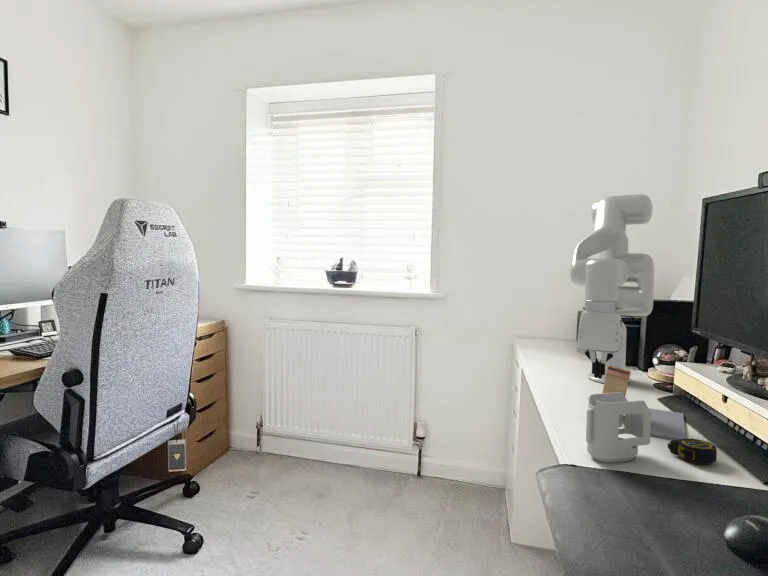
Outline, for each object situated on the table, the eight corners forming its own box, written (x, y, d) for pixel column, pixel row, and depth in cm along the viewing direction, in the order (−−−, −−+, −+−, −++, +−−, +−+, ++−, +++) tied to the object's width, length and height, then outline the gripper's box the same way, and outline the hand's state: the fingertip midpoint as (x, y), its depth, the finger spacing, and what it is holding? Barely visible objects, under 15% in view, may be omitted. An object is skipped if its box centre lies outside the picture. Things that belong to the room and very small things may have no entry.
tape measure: (695, 452, 93) (696, 434, 93) (725, 467, 86) (726, 448, 86) (666, 454, 92) (667, 437, 92) (695, 470, 85) (696, 451, 85)
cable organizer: (652, 460, 89) (655, 399, 88) (597, 467, 86) (599, 404, 85) (626, 446, 95) (628, 389, 95) (574, 452, 93) (576, 393, 92)
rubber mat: (629, 407, 121) (630, 405, 121) (682, 415, 114) (683, 413, 114) (624, 431, 104) (624, 428, 104) (685, 442, 98) (685, 439, 97)
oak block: (600, 408, 118) (609, 365, 116) (621, 414, 115) (631, 370, 114) (597, 413, 114) (607, 369, 112) (619, 420, 111) (629, 374, 109)
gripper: (634, 307, 113) (632, 378, 114) (572, 304, 122) (570, 370, 123) (632, 310, 107) (629, 385, 108) (566, 306, 115) (565, 376, 116)
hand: (598, 377), depth 115 cm, fingers closed
